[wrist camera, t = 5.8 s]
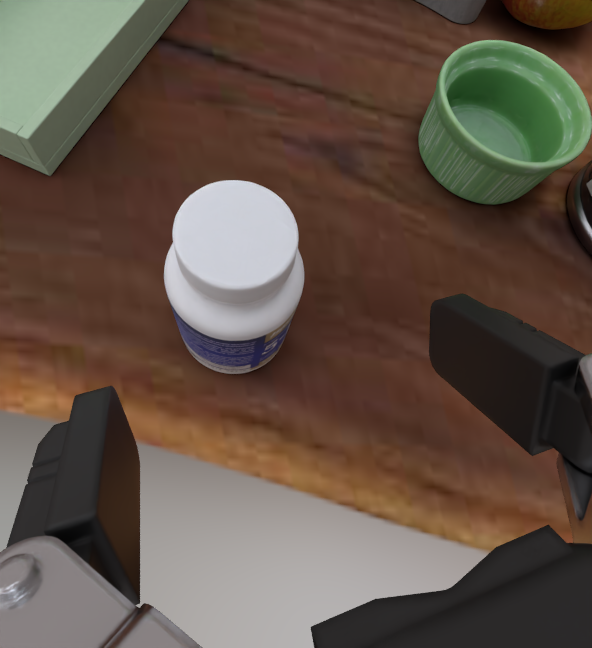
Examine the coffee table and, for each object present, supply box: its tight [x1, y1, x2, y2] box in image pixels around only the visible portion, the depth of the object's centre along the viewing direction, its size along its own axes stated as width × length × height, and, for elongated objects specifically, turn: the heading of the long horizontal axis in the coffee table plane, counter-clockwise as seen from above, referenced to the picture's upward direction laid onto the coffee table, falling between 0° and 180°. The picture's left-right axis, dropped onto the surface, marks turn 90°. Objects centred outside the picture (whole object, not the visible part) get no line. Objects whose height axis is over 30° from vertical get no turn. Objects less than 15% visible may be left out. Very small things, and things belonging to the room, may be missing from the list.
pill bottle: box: [164, 180, 304, 374], centre depth 18 cm, size 5×5×9 cm
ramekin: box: [418, 40, 592, 205], centre depth 26 cm, size 9×9×4 cm
